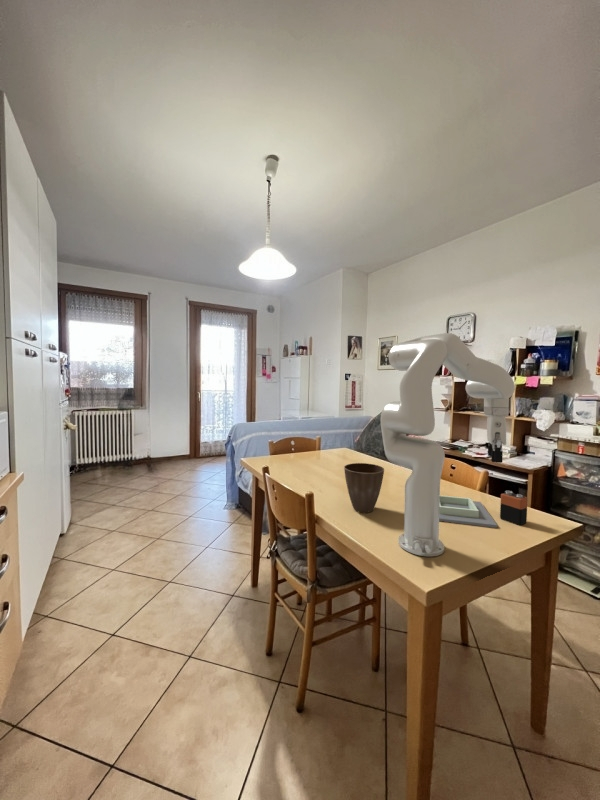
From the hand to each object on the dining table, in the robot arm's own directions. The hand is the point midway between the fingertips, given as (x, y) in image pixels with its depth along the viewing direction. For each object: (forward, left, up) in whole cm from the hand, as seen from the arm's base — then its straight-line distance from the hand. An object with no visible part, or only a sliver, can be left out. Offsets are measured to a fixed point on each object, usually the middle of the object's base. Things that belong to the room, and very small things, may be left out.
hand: (494, 459), depth 114 cm
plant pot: (-8, +46, -21) cm, 51 cm away
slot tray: (0, +13, -21) cm, 24 cm away
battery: (-3, -5, -21) cm, 22 cm away
